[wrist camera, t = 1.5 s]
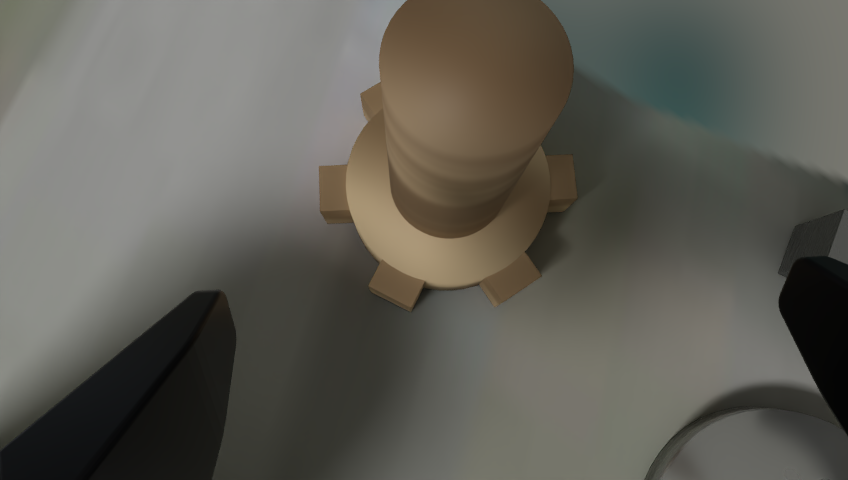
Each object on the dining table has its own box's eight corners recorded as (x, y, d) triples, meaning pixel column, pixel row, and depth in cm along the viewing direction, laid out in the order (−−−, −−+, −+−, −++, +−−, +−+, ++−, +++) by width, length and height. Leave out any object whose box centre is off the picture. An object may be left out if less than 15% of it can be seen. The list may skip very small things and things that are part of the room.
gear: (496, 355, 20) (579, 351, 11) (288, 250, 21) (185, 154, 11) (592, 147, 22) (740, -22, 12) (398, 55, 23) (392, -176, 13)
